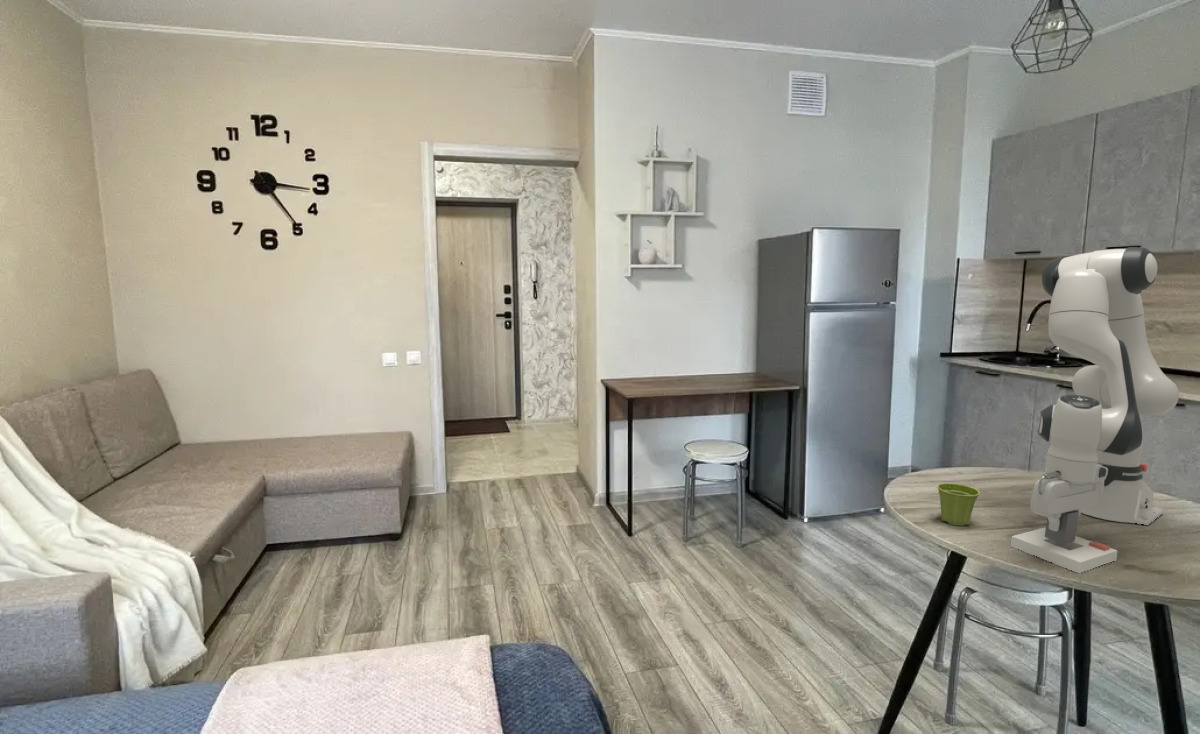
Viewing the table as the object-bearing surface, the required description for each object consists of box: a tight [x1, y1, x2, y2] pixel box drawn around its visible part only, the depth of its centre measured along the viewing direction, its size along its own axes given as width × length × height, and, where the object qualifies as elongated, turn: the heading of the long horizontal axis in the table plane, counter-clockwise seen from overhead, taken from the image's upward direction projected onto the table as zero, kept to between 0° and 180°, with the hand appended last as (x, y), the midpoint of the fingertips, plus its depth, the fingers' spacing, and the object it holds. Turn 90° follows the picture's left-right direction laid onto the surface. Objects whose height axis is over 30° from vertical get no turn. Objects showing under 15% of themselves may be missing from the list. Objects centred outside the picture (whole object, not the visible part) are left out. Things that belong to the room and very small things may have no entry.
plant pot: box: [936, 482, 981, 527], centre depth 152 cm, size 9×9×9 cm
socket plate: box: [1010, 526, 1118, 574], centre depth 135 cm, size 14×14×3 cm
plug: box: [1045, 510, 1080, 544], centre depth 135 cm, size 4×4×7 cm
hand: (1062, 528), depth 135 cm, fingers closed on plug, 4 cm apart
